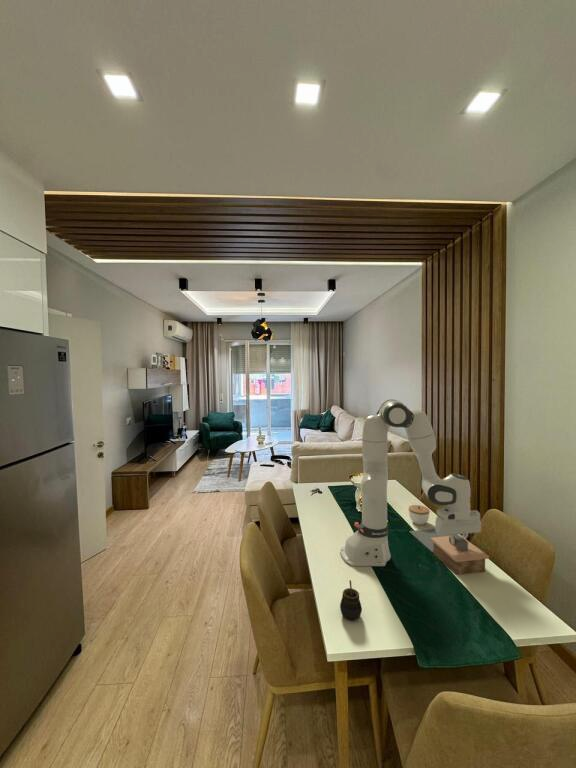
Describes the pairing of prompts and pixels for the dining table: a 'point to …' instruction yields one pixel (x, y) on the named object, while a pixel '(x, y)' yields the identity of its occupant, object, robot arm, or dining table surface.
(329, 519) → the dining table surface
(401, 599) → the dining table surface
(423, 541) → the rubber mat
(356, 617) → the mate gourd
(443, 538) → the lid
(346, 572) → the dining table surface
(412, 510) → the lidded jar
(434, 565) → the dining table surface
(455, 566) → the walnut box
